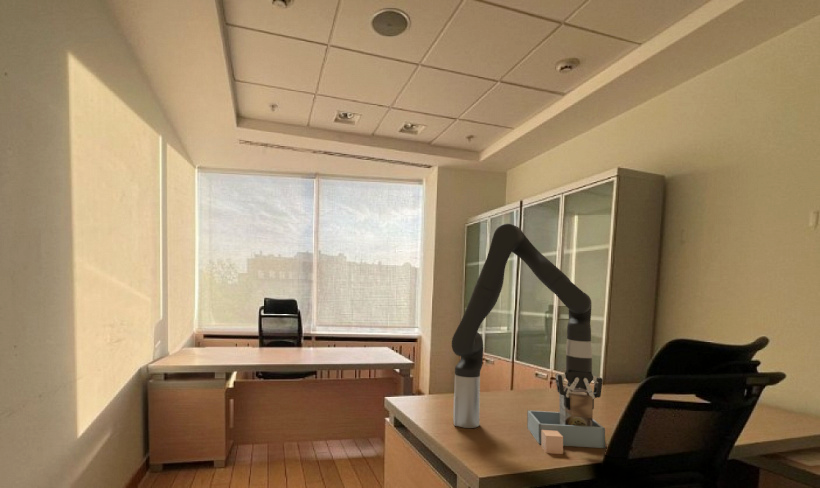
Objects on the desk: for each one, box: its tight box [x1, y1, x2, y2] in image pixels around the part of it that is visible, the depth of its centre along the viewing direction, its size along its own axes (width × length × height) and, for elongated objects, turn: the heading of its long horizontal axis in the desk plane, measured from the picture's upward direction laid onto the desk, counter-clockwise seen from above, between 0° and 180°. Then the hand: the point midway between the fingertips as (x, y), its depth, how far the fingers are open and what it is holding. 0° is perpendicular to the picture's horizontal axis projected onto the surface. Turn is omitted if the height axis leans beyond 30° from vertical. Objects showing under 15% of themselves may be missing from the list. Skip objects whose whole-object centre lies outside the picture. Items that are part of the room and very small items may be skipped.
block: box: [565, 391, 594, 419], centre depth 117 cm, size 6×6×6 cm
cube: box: [540, 430, 564, 455], centre depth 115 cm, size 5×5×5 cm
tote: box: [526, 410, 606, 449], centre depth 126 cm, size 21×15×6 cm
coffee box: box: [558, 385, 594, 427], centre depth 127 cm, size 9×6×16 cm
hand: (578, 409), depth 116 cm, fingers closed on block, 6 cm apart
